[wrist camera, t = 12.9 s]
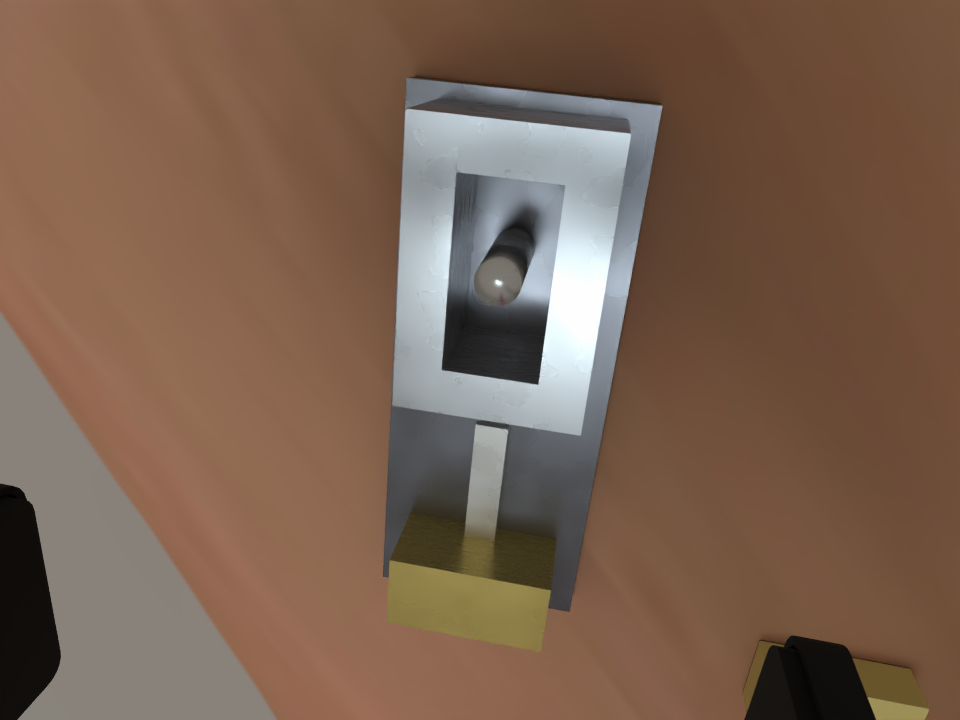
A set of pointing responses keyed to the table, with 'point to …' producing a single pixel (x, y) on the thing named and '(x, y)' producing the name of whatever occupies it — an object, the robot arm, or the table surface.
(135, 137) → the table surface
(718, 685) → the table surface
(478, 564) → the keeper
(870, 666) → the block
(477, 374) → the link
